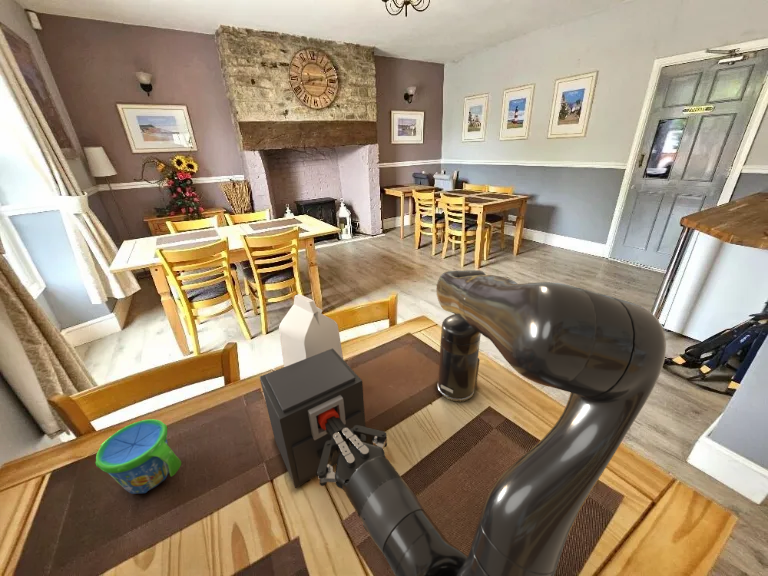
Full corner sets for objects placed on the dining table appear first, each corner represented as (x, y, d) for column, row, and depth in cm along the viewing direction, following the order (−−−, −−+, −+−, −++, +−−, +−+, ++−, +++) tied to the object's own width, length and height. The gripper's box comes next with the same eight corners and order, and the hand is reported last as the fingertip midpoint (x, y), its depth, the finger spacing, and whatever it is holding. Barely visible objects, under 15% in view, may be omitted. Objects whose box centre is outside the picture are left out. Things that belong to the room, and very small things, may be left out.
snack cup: (202, 463, 64) (188, 428, 60) (154, 516, 55) (134, 479, 51) (147, 444, 69) (130, 410, 64) (94, 491, 59) (70, 455, 55)
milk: (286, 384, 85) (269, 299, 74) (319, 363, 93) (308, 284, 82) (313, 405, 78) (298, 315, 67) (346, 380, 86) (338, 296, 75)
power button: (336, 418, 59) (334, 403, 57) (340, 423, 57) (338, 409, 56) (318, 427, 57) (316, 412, 55) (322, 433, 56) (319, 418, 54)
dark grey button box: (339, 408, 77) (332, 345, 69) (373, 454, 65) (369, 385, 57) (274, 440, 69) (258, 374, 61) (300, 500, 57) (283, 427, 49)
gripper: (422, 458, 45) (360, 389, 58) (340, 516, 38) (291, 423, 51) (421, 491, 48) (362, 419, 61) (345, 550, 41) (298, 454, 54)
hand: (330, 421), depth 56 cm, fingers closed
